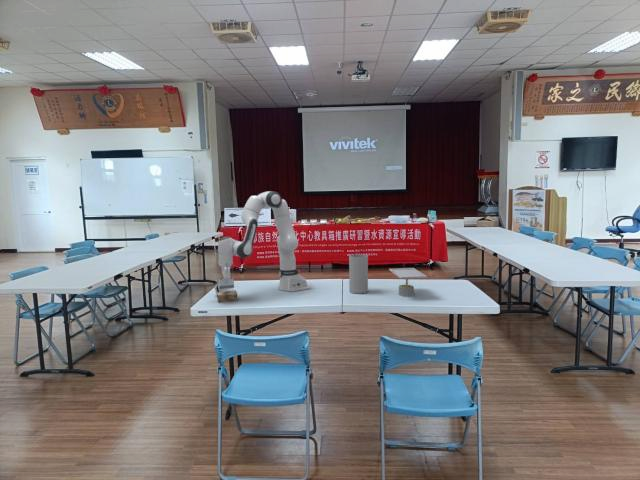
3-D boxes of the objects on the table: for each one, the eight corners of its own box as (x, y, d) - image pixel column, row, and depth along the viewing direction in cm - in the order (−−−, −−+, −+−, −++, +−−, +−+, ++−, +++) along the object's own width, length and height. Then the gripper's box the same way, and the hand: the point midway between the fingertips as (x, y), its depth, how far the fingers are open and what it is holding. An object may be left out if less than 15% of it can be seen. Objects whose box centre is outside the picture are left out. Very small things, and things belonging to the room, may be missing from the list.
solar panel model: (426, 299, 273) (427, 276, 271) (400, 300, 271) (400, 277, 269) (413, 289, 300) (413, 267, 298) (388, 289, 299) (389, 268, 297)
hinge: (224, 297, 286) (218, 283, 285) (218, 299, 287) (212, 285, 287) (234, 291, 302) (229, 278, 302) (228, 293, 303) (223, 280, 303)
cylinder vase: (371, 291, 296) (371, 255, 293) (361, 295, 286) (361, 257, 283) (355, 288, 304) (355, 253, 300) (345, 292, 294) (345, 256, 290)
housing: (233, 286, 282) (232, 276, 281) (234, 287, 277) (233, 278, 276) (219, 287, 279) (218, 277, 278) (219, 289, 275) (219, 279, 274)
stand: (236, 297, 285) (235, 290, 284) (237, 300, 277) (237, 293, 276) (217, 299, 281) (217, 291, 281) (218, 302, 274) (218, 294, 273)
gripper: (232, 264, 267) (233, 286, 269) (229, 259, 286) (230, 280, 288) (221, 265, 265) (222, 287, 267) (219, 260, 285) (220, 280, 286)
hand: (226, 283), depth 278 cm, fingers closed on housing, 5 cm apart
